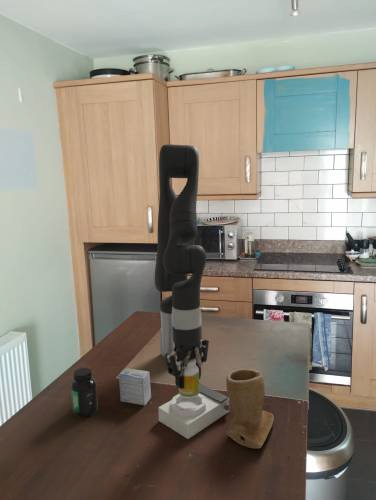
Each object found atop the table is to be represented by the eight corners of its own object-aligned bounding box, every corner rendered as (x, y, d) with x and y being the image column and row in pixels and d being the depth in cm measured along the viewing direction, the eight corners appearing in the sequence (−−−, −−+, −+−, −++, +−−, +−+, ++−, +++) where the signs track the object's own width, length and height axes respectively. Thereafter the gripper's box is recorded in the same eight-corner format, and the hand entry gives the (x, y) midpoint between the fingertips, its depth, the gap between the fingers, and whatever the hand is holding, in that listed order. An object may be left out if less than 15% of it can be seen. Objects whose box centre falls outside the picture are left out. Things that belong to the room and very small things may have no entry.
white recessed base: (191, 441, 105) (190, 421, 104) (159, 420, 113) (158, 402, 112) (232, 413, 116) (232, 395, 115) (200, 396, 124) (199, 379, 123)
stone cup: (235, 408, 118) (235, 359, 115) (278, 419, 113) (279, 367, 109) (214, 441, 105) (213, 386, 102) (260, 455, 100) (261, 397, 96)
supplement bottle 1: (76, 421, 114) (72, 380, 112) (70, 408, 120) (67, 369, 118) (101, 413, 117) (98, 374, 115) (94, 401, 123) (91, 363, 121)
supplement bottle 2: (197, 399, 109) (196, 365, 107) (176, 398, 110) (175, 363, 108) (200, 388, 114) (200, 355, 112) (181, 387, 115) (180, 354, 113)
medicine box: (151, 398, 124) (150, 371, 122) (145, 406, 120) (143, 378, 118) (127, 393, 127) (125, 367, 125) (120, 402, 123) (118, 374, 121)
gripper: (195, 311, 115) (197, 368, 119) (155, 327, 106) (158, 388, 109) (216, 318, 110) (217, 377, 114) (176, 335, 100) (178, 400, 104)
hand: (188, 382), depth 111 cm, fingers closed on supplement bottle 2, 5 cm apart
